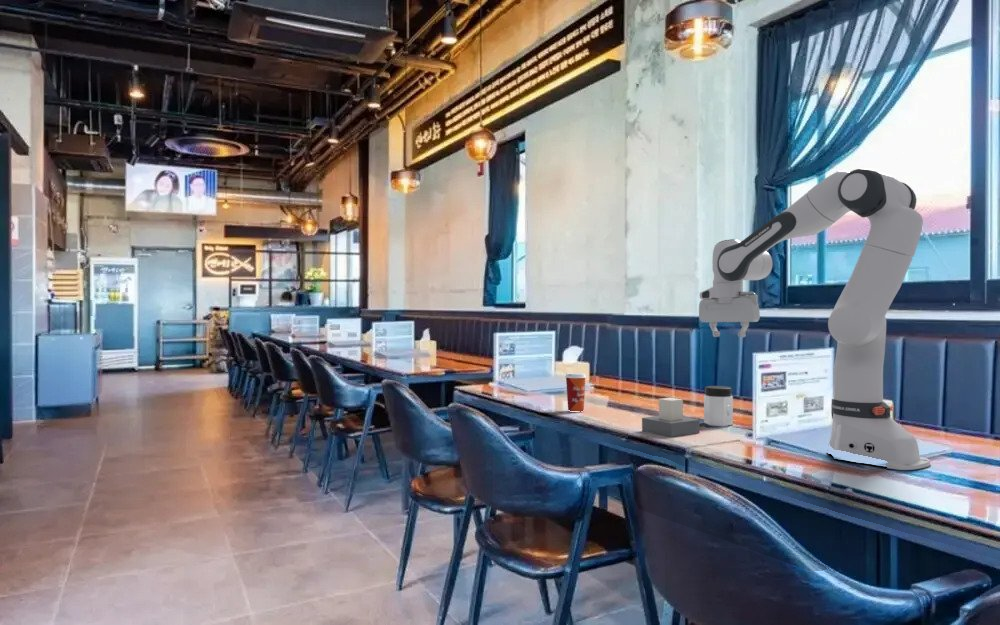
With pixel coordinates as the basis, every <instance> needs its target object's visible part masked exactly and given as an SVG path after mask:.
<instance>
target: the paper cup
mask: <svg viewBox="0 0 1000 625" xmlns="http://www.w3.org/2000/svg"><path fill="white" fill-rule="evenodd" d="M565 378H566V380H565V382H566V397H567V398H566V399H567V411H568V410H570V411H583V410H584V407H585V395H586V392H585V391H586V378H587V375H586V373H584V372H567V373H566V375H565ZM583 412H584V411H583Z"/></svg>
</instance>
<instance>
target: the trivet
mask: <svg viewBox="0 0 1000 625" xmlns="http://www.w3.org/2000/svg"><path fill="white" fill-rule="evenodd" d="M700 422H701V421H700V419H697V418H692V417H685V416H683V419H681V420H673V421H670V420H664V419H659V415H655V416H646V417H642V418H641V431H642V432H646V433H651V434H655V435H659V436H660V435H661V436H664V437H669V438H676V437H682V436H687V435H689V436H690V435H695V434H700V429H701V428H700V427H701V426H700V424H701V423H700Z"/></svg>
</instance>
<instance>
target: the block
mask: <svg viewBox="0 0 1000 625" xmlns="http://www.w3.org/2000/svg"><path fill="white" fill-rule="evenodd" d="M683 413H684V399H683V398H682V399H681V398H676V397H664V398H658V416H659V419H664V420H670V421H673V420H681V419H683V417H684V414H683Z"/></svg>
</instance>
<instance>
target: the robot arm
mask: <svg viewBox="0 0 1000 625" xmlns="http://www.w3.org/2000/svg"><path fill="white" fill-rule="evenodd" d="M916 207H917V195H916V194H915V191H914V190H913V189H912V187H911V186H909V185H908V184H906V183H905V182H902V181H900V180H898V179H897V178H895V177H893V176H892V175H890V174H886V173H884V172H880V171H877V170H875V169H871V168H857V169H853V170H851V171H848V170H845V169H843V170H838V171H836V172H833V173H832V174H830V175H828V176H827V177H825V178H824V179H823V180H821V181H820V182H818V183H817V184H815V185H814V186H813V187H812V188H810V189H809V190H808V191H807V192H806V193H805V194H803V195H802V196H801V197H800V198H798V199H797V200H796V201H795V202H794V203H793V204H791V205H790V206H789V207H787V208H786V209H784V210H783V211H782V212H780V213H779V214H777V215H775V216H774V217H772V218H771V219H770V220H768V221H767V222H765V223H764V224H763V225H761V226H760V227H759V228H757V229H756V230H755V231H754V232H753V231H752V233H750V235H748V236H747V237H745V238H744V239H743V240H741V241H740V240H739V239H736V238H735V239H734V238H732V239H731V238H730V239H725V240H721V241H719V242H717V243H716V244H715V245H714V247H713V251H712V263H711V264H712V272H713V280H712V286H711V287H710V288H707V289H706V290H703V291H701V292H700V293H699V299H700V301H699V304H698V319H699V320H700V322H701V323H709V327H710V329H711V332H712V337H714V338H719V337H720V336H721V331H720V330H718V328H717V326H718V323H740V326H741V328H740V330H738V332H737V334H738V335H737V336H738V338H745V337H747V335H746V333H747V330H748V328H749V326H750V323H757V322H759V321H760V318H761V314H760V308H759V306H760V305H759V297H758V294H757V293H756V292H754V291H750V290H749V291H744V281H759V280H763V279H766V278H767V277H768V276H769V275H770V274H771V273H772V271H773V266H774V262H773V261H774V260H773V257H772V255H771V254H770V252H768V251H769V250H770V249H771V248H772V247H774V246H776V245H777V244H779V243H781V242H784V241H786V240H787V241H788V240H789V239H790V240H791V239H795V238H802V237H810V236H815V235H818V234H819V233H821V232H823V231H825V230H827V229H829V227H831V226H833V224H835V223H836V222H837V221H839V220H840V219H841V218H842V217H844V216H845V215H846V214H847V213H849V212H850V211H851V212H853V213H855V215H858V216H859V217H861V218H867V219H868V220H869V224H870V228H869V232H868V234H867V237H866V239H865V242H864V243H863V244H864V245H863V246H862V249H861V251H860V254H859V256H858V258H857V260H856V263H855V266H854V268H853V270H852V273H851V275H850V277H849V279H848V280H847V282H846V285H845V286H844V288H843V289H842V291H841V294H840V296H839V297H838V299H837V301H836V303H835V305H834V308H833V309H832V311H831V313H830V315H829V317H828V322H827V327H828V331H829V333H830V336H831V337H832V338H833V339H834V340H835V341H836V342H837V345H836V350H835V358H834V363H833V367H832V368H833V372H832V374H833V376H832V379H833V384H832V385H833V398H831V405H830V406H831V412H830V414H831V418H832V422H831V432H830V439H829V442H828V445H829V444H830V446H831V447H832V448H833V449H834V450H841V451H846V452H850V453H853V454H858V455H863V456H868V457H872V458H876V459H881V460H885V461H887V462H888V463H886V464H885V465H886V467H887V468H886V469H891V470H898V471H912V470H919V469H924V468H928V467H929V466H931V459H929V458H926V457H923V456H921V455H920V449H919V444H918V441H917V439H916V437H915V436H914V434H912V433H910V432H909V431H908V430H906V428H904V427H903V426H902V425H900V424H899V423H898V422H897V421H896V420H894V419H893V418H892V417H891V412H892V411H895V409H893V408H895V406H894V405H888V404H887V403H886V402H885V401H884V363H885V355H886V354H885V352H886V343H887V342H886V340H887V338H886V337H887V318H886V315H887V313H888V311H889V308H890V307H891V304H892V303H893V301H894V299H895V298H896V295H897V294H898V292H899V290H900V289H901V286H902V284H903V283H904V282H903V281H904V280H905V277H906V275H907V273H908V270H909V268H910V265H911V263H912V261H913V259H914V258H913V257H914V256H915V254H916V251H917V249H918V246H919V243H920V238H921V236H922V230H923V224H924V220H923V216H922V215H921V214H920V213H919V212H918V211H917V210H915V209H916Z"/></svg>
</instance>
